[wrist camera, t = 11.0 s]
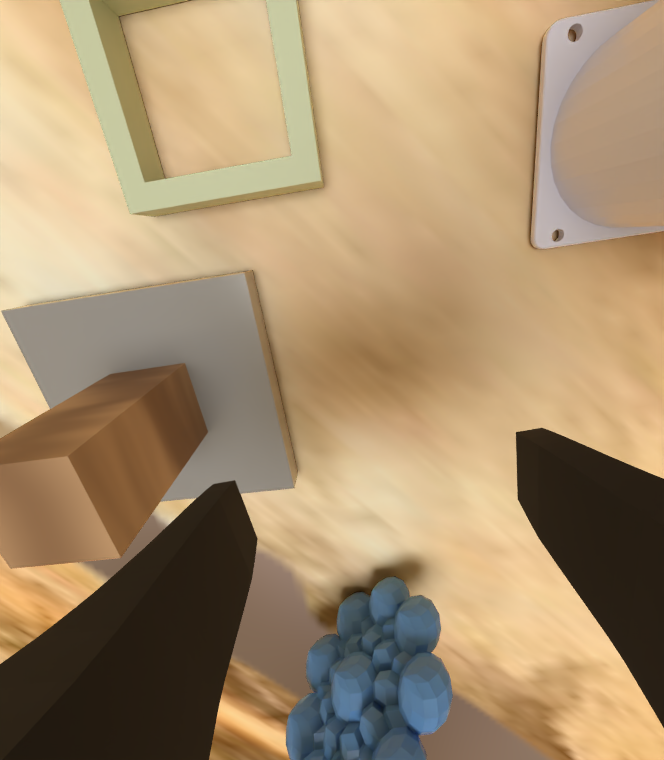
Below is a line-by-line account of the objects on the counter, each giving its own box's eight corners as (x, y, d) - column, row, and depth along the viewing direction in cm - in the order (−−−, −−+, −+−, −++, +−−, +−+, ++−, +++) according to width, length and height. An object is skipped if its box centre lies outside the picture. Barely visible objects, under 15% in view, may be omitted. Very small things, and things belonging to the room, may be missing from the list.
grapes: (340, 655, 28) (338, 927, 17) (279, 612, 27) (233, 883, 15) (460, 589, 25) (554, 872, 14) (400, 535, 23) (451, 809, 12)
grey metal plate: (252, 270, 17) (244, 273, 16) (297, 471, 22) (294, 488, 20) (27, 305, 18) (0, 310, 17) (114, 490, 23) (99, 507, 21)
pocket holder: (289, -61, 13) (280, -112, 11) (323, 187, 16) (321, 180, 14) (84, -13, 13) (42, -52, 12) (154, 216, 16) (130, 214, 14)
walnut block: (185, 362, 17) (67, 456, 10) (208, 432, 19) (121, 557, 12) (110, 374, 18) (-57, 471, 10) (138, 441, 19) (10, 568, 12)
